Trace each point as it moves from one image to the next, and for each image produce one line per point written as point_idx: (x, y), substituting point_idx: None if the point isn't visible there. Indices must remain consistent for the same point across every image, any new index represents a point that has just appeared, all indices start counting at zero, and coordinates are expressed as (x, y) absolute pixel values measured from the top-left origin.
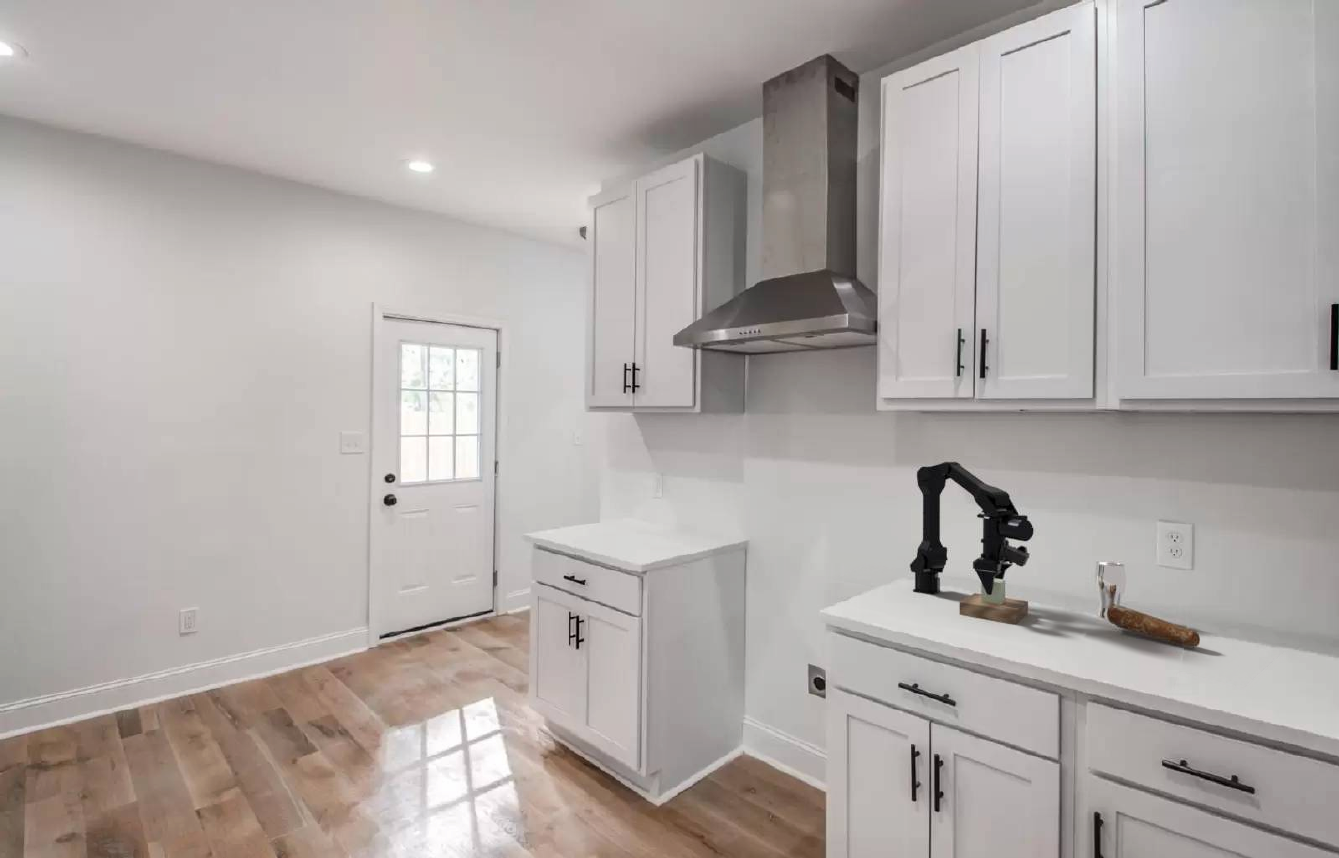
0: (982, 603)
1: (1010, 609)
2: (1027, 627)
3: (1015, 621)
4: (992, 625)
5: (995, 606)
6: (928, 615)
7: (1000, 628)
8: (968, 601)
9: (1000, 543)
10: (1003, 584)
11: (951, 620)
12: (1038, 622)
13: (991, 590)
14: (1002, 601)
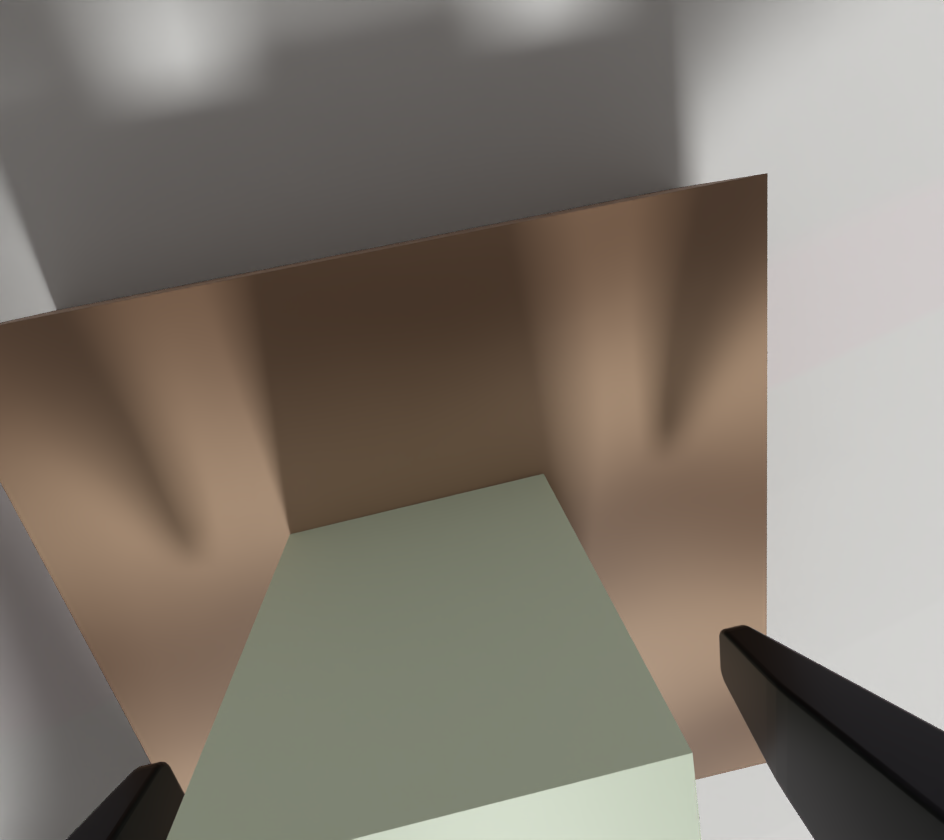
0: (652, 623)
1: (700, 273)
2: (694, 27)
3: (672, 189)
4: (870, 326)
5: (683, 472)
6: None
7: (932, 222)
8: None
9: None
10: (391, 739)
11: (929, 601)
12: (345, 28)
13: (823, 670)
14: (453, 510)
